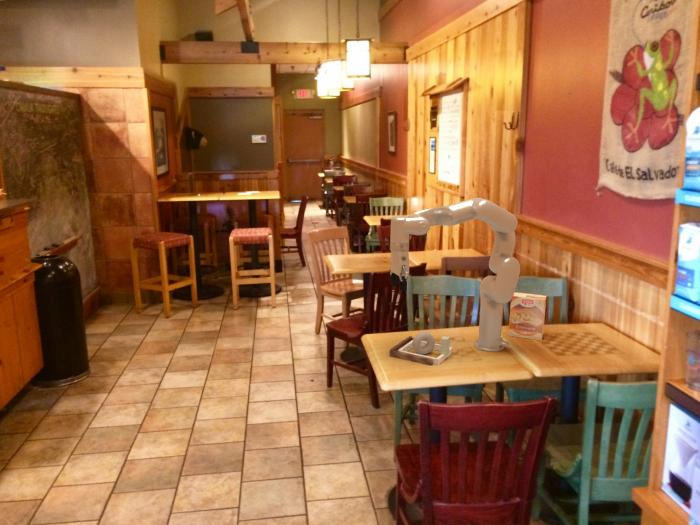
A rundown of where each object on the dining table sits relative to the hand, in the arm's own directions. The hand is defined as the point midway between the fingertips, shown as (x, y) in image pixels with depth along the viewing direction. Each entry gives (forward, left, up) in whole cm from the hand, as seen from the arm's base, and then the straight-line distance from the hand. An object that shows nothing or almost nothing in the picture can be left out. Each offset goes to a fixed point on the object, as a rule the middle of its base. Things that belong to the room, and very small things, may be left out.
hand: (398, 287), depth 244 cm
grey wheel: (-10, -5, -29) cm, 31 cm away
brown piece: (-9, -5, -29) cm, 31 cm away
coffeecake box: (-41, -51, -29) cm, 72 cm away
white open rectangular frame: (-11, -5, -29) cm, 31 cm away
